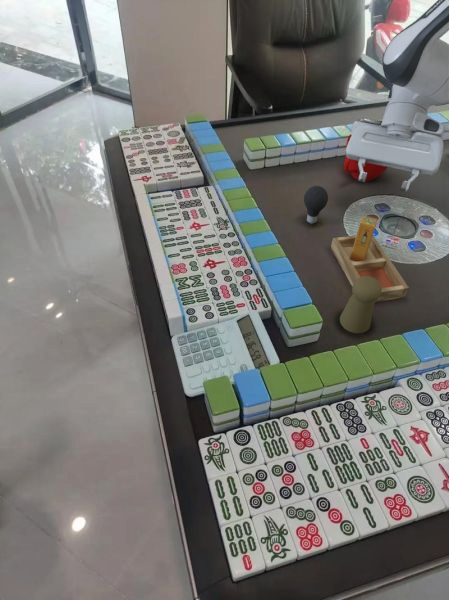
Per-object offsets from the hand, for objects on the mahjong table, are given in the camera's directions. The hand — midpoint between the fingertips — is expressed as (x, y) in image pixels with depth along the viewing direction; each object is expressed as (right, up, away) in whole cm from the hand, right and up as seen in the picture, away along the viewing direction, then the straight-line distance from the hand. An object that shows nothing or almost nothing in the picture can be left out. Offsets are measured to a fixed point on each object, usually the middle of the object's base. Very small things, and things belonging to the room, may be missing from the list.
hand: (382, 185), depth 97 cm
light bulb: (-14, -7, +10) cm, 19 cm away
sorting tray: (-4, -19, -1) cm, 20 cm away
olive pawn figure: (-10, -30, -11) cm, 33 cm away
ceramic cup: (+2, +9, +24) cm, 26 cm away
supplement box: (-5, -16, +1) cm, 17 cm away
